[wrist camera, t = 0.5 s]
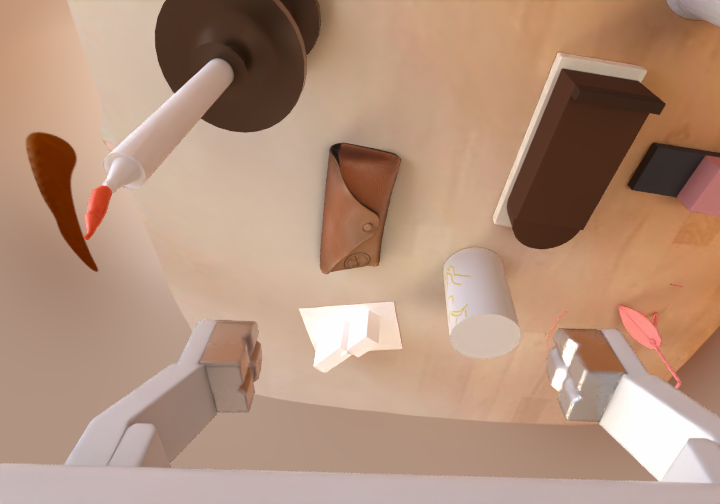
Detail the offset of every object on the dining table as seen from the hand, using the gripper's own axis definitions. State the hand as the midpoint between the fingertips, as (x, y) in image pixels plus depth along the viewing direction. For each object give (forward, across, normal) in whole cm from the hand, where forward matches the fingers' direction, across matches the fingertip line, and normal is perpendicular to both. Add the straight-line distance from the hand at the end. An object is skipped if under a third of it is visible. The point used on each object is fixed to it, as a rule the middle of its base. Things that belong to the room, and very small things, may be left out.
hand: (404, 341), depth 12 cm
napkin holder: (+44, +3, +41) cm, 61 cm away
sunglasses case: (+42, +2, +18) cm, 46 cm away
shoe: (+40, -20, +9) cm, 45 cm away
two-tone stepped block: (+39, -35, +11) cm, 54 cm away
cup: (+42, -14, +27) cm, 52 cm away
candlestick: (+40, +10, -4) cm, 42 cm away
